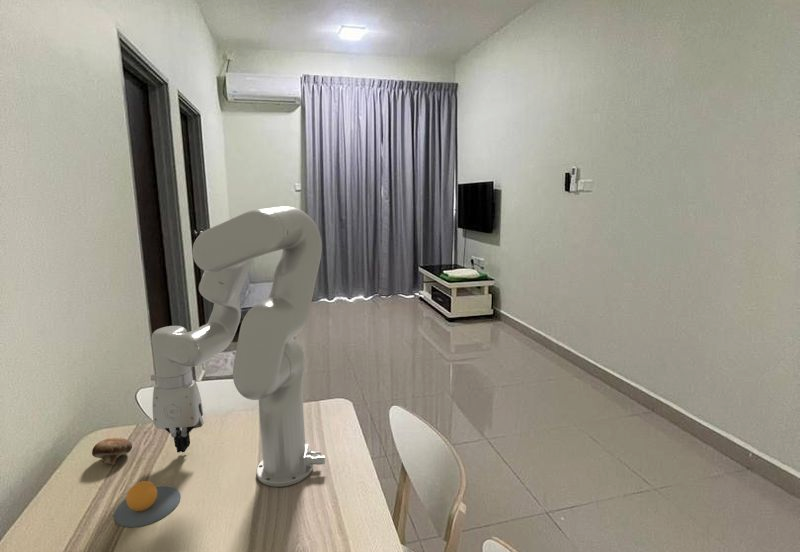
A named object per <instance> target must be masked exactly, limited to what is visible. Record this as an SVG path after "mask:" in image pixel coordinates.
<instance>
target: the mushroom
mask: <svg viewBox="0 0 800 552" xmlns="http://www.w3.org/2000/svg"><path fill="white" fill-rule="evenodd" d="M132 449H133V444H132V442H131V441H130V440H128V439H126V438H123V437H115V438H114V437H111V438H106V439H102V440H100V441H99V442H98V443H96V444H95V445H93V448H92V451H91V455H92V457H94V458H97V459H98V458H99V459H101V460H102V462H103V463H105V464H108V465H112V466H116V462H117V459H118V458H119V457H120V456H123V455H126V454H128V453H130V452H131V450H132Z"/></svg>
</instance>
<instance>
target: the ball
mask: <svg viewBox="0 0 800 552" xmlns="http://www.w3.org/2000/svg"><path fill="white" fill-rule="evenodd" d="M125 497H126V498H125V499H126V502H127V505H128V507H129V508H130V509H132V510H134V511H143V510H146V509H148V508H149V507H151V506H152V505H153V503H154V502H155V500H156V498H157V488H156V485H155V484H154V483H153V482H151V481H148V480H144V481H143V480H142V481H139V482H137V483H135V484H134V485H132V486H131V487H130V489H128V491H127V494H126V496H125Z"/></svg>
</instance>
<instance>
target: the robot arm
mask: <svg viewBox="0 0 800 552" xmlns="http://www.w3.org/2000/svg"><path fill="white" fill-rule="evenodd" d="M322 249H323V241H322V236H321V233H320V230H319V228H318V225H317V224H316V222H315V221H314V220H313V218H311V217H310V216H309V215H308V214H307V213H306V212H305V211H303V210H301V209H300V208H297V207H293V206H284V205H283V206H274V207H267V208H265V207H264V208H256V209H253V210H249V211H247V212H243V213H241V214H239V215H237V216H235V217H232V218H231V219H227V220H226V221H224V222H221V223H220V224H216V225H215V226H212V227H209V228H207V229H205V230H204V231H202V232H201V233H199V235H198V236H197V237H196V239H195V240H194V242H193V245H192V258H193V261H194V262H195V264H196V266H197V267H198V268H199V269H200V270H202V271H203V274H202V276H201V279H200V282H199V285H198V291H199V293H200V296H202V297H203V298H204V299H205V300H207V301H209V302H211V303H213V307H212V311H211V314H210V316H209V318H208V321H207V323H206V324H203V325H201V326H199V327H197V328H195V329H193V330H191V331H188V330H187V328H185V327H183V326H181V325H169V326H168V325H167V326H164V327H160V328H157V329H156V330H154V331H153V332H152V334H151V344H152V351H153V353H152V354H153V359H154V361H153V363H154V369H155V374H152V375H151V376H150V381H155V386H154V387H153V391H152V404H151V405H152V421H153V425H154V427H156V429H159V430H165V431H166V432H167V433H168V434H170V436H171V438H173V441H174V447H175V448H176V452H177V453H185V452H186V450H187V449H188V447H190V445H191V439H190V433H191V432H192V431H193V430H194V429H199V428H201V427H203V425H204V423H205V421H204V419H203V415H204V410H203V408H204V407H203V403H202V397H201V392H200V390H199V386H198V383H197V381H196V380H195V379H193V371H192V368H193V367H197V366H199V365H201V364H203V363H204V362H206V361H209V360H210V359H211V358H213V357H215V356H216V355H218V354H220V353H222V352H223V351H225V350H226V349H227V348H228V347H229V346H230V345H231V344H232V342H233V339H234V337H235V335H236V333H237V331H238V327H239V325H240V327H239V333H238V338H237V345H236V349H235V356H234V359H233V360H234V361H233V366H232V380H233V384H234V386H235V388H236V391H237V392H238V393H239V394H240V395H241V396H242V397H243V398H246V399H248V400H251V401H258V412H259V413H258V414H259V426H260V439H261V440H260V441H261V453H262V460H261V461H260V462H259V463H258V465H257V466H256V477H257V479H258V480H259V482H261V484H262V483H263V484H264V485H266V486H268V487H269V486H270V487H274V488H275V487H276V488H277V487H279V488H282V487H287V486H292V485H294V484H297V483H300V482H301V481H303V480H305V479H306V478H307V477H308V476H309V475H310V474H311V473H312V472H313V468H314V465H316V466H318V465H319V466H320V465H326V455H323V454H322V451H321V450H313V451H312V450H311V449H309V443H306V436H305V433H306V432H305V416H304V397H303V392H304V391H303V381H304V371H305V355H304V351H303V348H302V346H301V344H300V343H299V342H298V340H296V339H294V338H295V337H296V336H298V335H299V334H301V332H303V331H304V329H305V327H306V326H307V323H308V319H309V316H310V310H311V305H312V300H313V296H314V291H315V286H316V280H317V277H318V276H317V275H318V272H319V268H320V262H321V259H322V252H323V250H322ZM280 250H282V253H281V256H280V259H279V261H278V263H277V265H276V268H275V271H274V275H273V279H272V286H271V289H270V292H269V295H268V297H267V298H266V299H265V300H263V301H260V302H259V303H257V304H255V305H254V306H253V307H251V308H250V309H249V310H248V311H247V313H246V314H245V315H244V318H243V319H242V321H241V316H242V309H241V302H240V300H239V298H240V294H241V292H242V290H243V287H244V284H245V282H246V280H247V277H248V274H249V272H250V269H251V267H252V264H253V261H254V259H256V258H259V257H262V256H264V255H267V254H271V253H273V252H277V251H280ZM240 322H241V323H240Z"/></svg>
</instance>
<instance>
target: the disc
mask: <svg viewBox="0 0 800 552" xmlns="http://www.w3.org/2000/svg"><path fill="white" fill-rule="evenodd" d="M155 486H156V485H155ZM156 488H157V498H156V500H155V502H154V503H153V505H152V506H151V507H149V508H148V509H146V510H143V511H134V510H132V509H130V508H129V507H128V505H127V502H126V498H125V499H124V500H123V501H121V502H120V503H119V505H118V506H117V507H116V508H115V511H114V513H113V518H114V521H115V522H116V524H117V525H119V526H121V527H125V528H138V527H144V526H147V525H150V524H153V523H156V522H158V521H160V520H162V519H164V518H165V517H167V516H168V515H169V514H171V513H172V512H173V511H174V510H175V509H176V508H177V507H178V505H179V503H180V502H181V498H182V497H181V492H180V490H179V489H177V488H175V487H174V486H170V485H157V486H156Z"/></svg>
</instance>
